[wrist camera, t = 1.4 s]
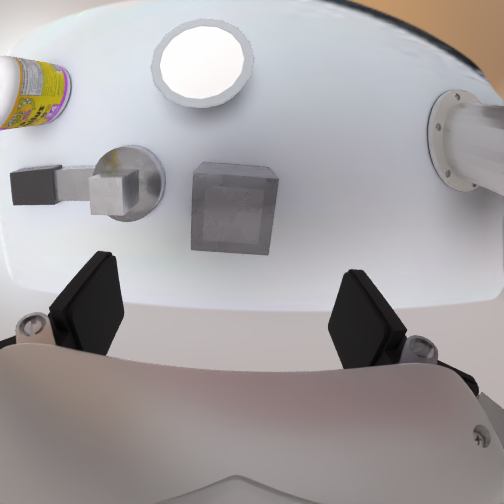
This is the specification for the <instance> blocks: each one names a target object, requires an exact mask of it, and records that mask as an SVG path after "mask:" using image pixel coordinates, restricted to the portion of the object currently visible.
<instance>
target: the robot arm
mask: <svg viewBox="0 0 504 504" xmlns="http://www.w3.org/2000/svg"><path fill="white" fill-rule="evenodd" d="M428 141H429V150H430V154H431V158H432V161H433V164H434V167H435V169H436V171H437V173H438V174H439V176H440V177H441V179H442V180H443V181H444V182H445V183H446V184H447V185H448V186H450V187H452V188H454V189H456V190H458V191H461V192H469V191H472V190H474V189H476V188H478V187H479V186H481V187H483V188H486V189H488V190H490V191H493V192H495V193H497V194H499V195H502V196H504V106H498V105H488V104H482V103H481V102H480V101H479V100H478V99H477V98H476V97H475V96H474V95H472V94H471V93H469V92H467V91H463V90H451V91H447V92H445V93H444V94H442V95H441V96H440V97H439V98H438V100H437V101H436V103H435V105H434V106H433V108H432V112H431V115H430V119H429V126H428ZM49 310H50V313H49V314H48V316H47V315H45V314H43V313H40V312H35V313H31V314H28V315H26V316H24V317H23V318H21V320H20V321H19V322H18V323H17V325H16V330H15V331H16V335H15V336H13V337H11V338H8V339H5V340H2V341H0V504H504V409H502V408H501V407H500V406H499V405H498V404H496V403H495V402H494V401H493V400H491V399H490V398H489V397H488V396H486V395H485V394H484V393H483V392H481V394H480V395H479V394H478V393H479V387H478V385H477V383H476V381H475V379H474V378H473V377H472V376H470V375H468V374H466V373H464V372H462V371H460V370H458V369H456V368H453V367H451V366H449V365H447V364H445V363H443V362H441V361H439V360H438V350H437V348H436V346H435V345H434V344H433V343H432V342H431V341H430V340H428V339H426V338H425V337H422V336H417V335H414V336H410V337H409V338H407V337H406V336H405V334H406V332H407V329H406V327H405V326H404V325H403V323H402V322H401V320H400V319H399V317H398V316H397V315H396V313H395V312H394V310H393V309H392V308H391V306H390V305H389V304H388V302H387V301H386V299H385V298H384V297H383V295H382V294H381V293H380V291H379V290H378V289H377V287H376V286H375V285H374V284H373V282H372V281H371V280H370V278H369V277H368V276H367V274H366V273H365V272H364V271H363V270H354V269H350V270H349V271H348V273H347V272H346V273H345V274H344V276H343V279H342V282H341V286H340V289H339V292H338V295H337V299H336V302H335V305H334V308H333V311H332V314H331V317H330V320H329V323H328V330H329V333H330V336H331V338H332V341H333V343H334V346H335V348H336V350H337V353H338V356H339V358H340V361H341V363H342V366H343V368H344V369H340V370H324V371H297V372H251V371H227V370H210V369H197V368H186V367H176V366H167V365H159V364H152V363H145V362H138V361H132V360H126V359H120V358H114V357H109V356H106V354H107V352H108V350H109V348H110V345H111V343H112V341H113V339H114V337H115V334H116V332H117V330H118V328H119V326H120V324H121V321H122V319H123V317H124V307H123V301H122V295H121V289H120V283H119V276H118V269H117V261H116V257H115V256H113V255H112V253H111V252H104V251H97V252H96V253H95V254H94V255H93V257H92V258H91V259H90V260H89V261H88V262H87V263H86V264H85V265H84V267H83V268H82V269H81V270H80V271H79V272H78V273H77V274H76V276H75V277H74V278H73V279H72V280H71V281H70V283H69V284H68V285H67V286H66V287H65V289H64V290H63V291H62V292H61V293H60V295H59V296H58V297H57V298H56V300H55V301H54V302H53V304H52V305H51V306H50V307H49Z"/></svg>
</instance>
